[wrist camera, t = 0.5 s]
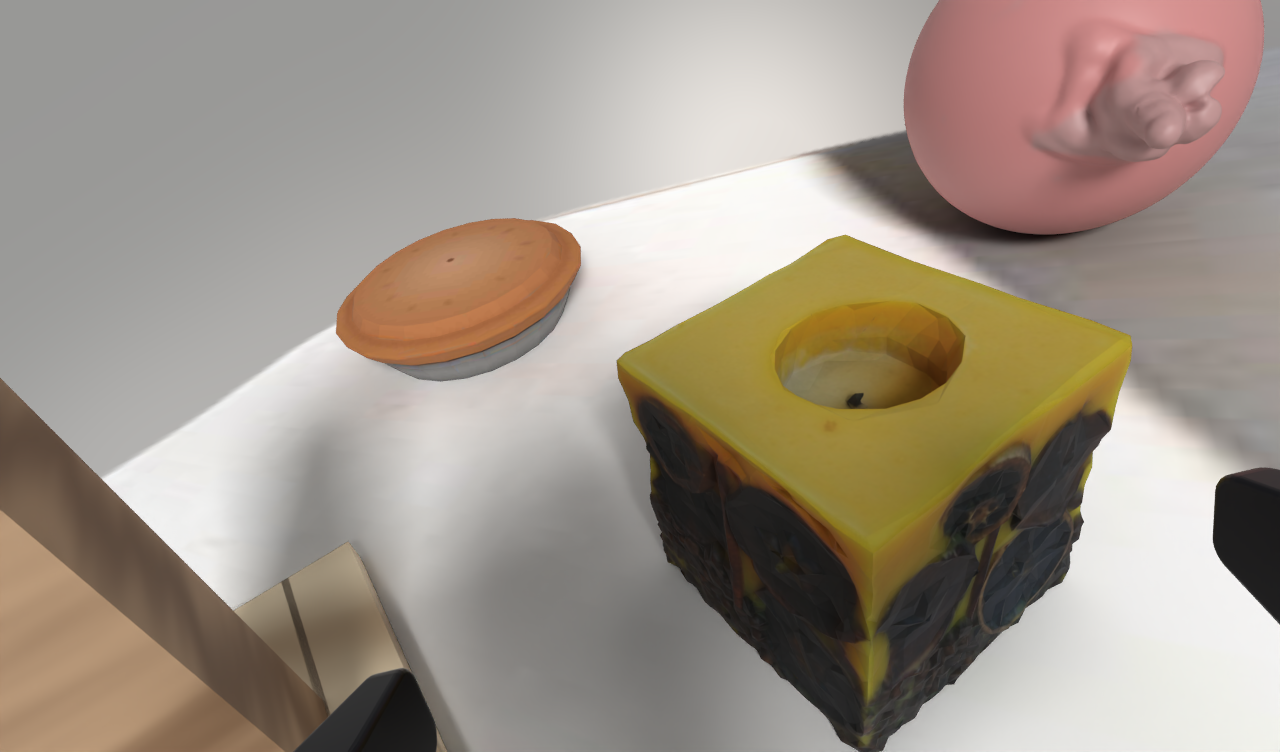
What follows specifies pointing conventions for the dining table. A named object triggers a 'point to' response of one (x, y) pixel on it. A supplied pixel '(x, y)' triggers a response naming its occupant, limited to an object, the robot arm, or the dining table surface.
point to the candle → (872, 468)
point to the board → (328, 627)
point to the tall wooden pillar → (119, 624)
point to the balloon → (1075, 103)
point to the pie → (463, 298)
